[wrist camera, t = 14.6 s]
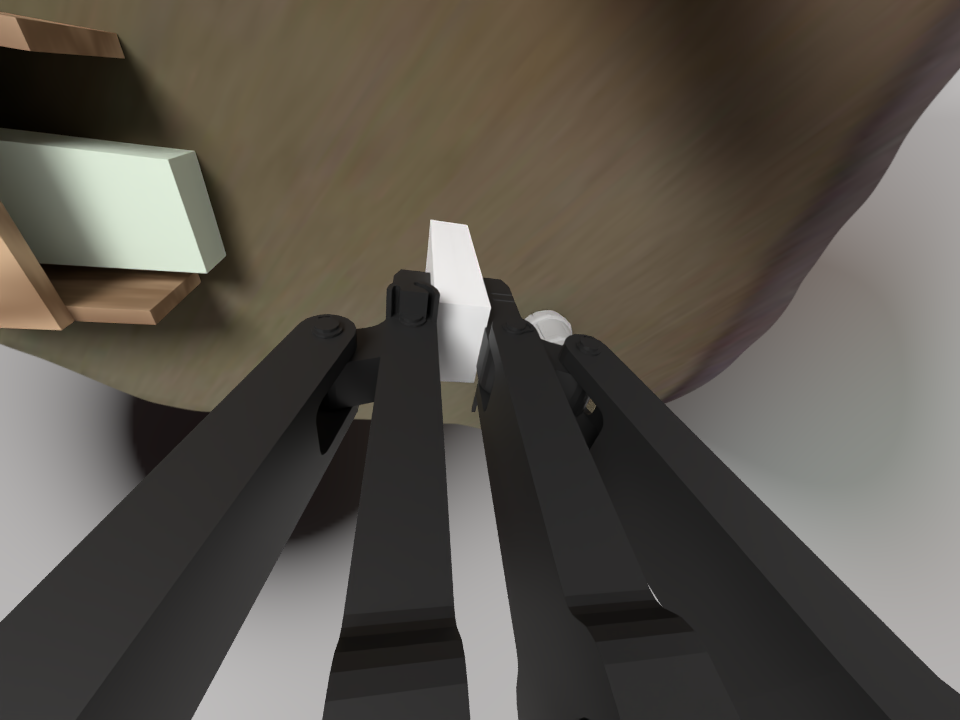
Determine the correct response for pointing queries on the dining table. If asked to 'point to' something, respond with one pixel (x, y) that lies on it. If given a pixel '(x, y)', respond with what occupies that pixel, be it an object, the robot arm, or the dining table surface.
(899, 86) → the dining table surface
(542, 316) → the mug
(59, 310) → the wooden box
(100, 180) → the pale green block
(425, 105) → the dining table surface
